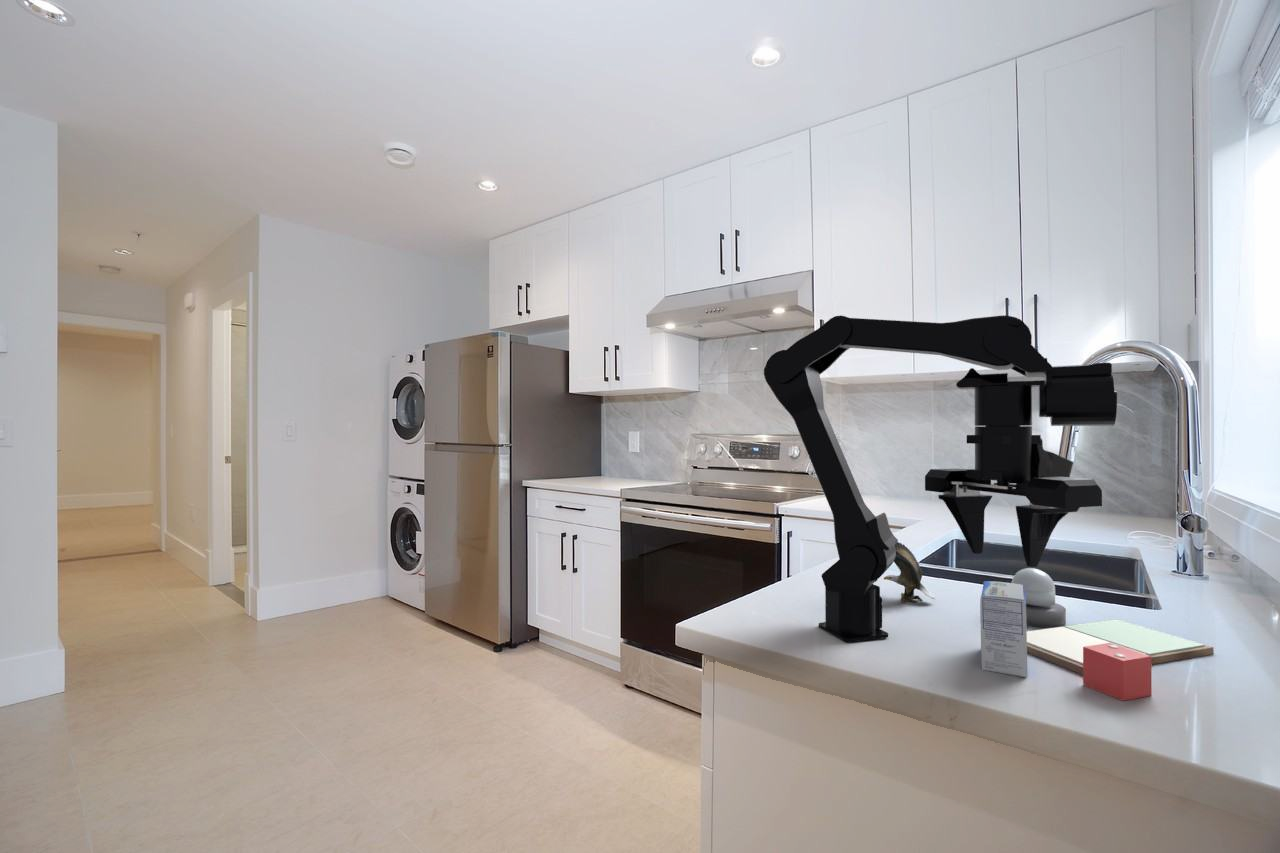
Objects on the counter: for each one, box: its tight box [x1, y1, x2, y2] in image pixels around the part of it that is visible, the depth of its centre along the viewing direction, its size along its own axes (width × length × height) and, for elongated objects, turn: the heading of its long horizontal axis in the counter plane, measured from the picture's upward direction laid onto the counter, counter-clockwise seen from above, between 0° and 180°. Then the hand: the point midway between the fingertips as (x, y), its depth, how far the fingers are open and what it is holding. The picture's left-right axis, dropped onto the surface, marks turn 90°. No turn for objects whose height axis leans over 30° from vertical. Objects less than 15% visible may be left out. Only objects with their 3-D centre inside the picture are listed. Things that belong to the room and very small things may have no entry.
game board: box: [1027, 618, 1215, 675], centre depth 73 cm, size 21×11×1 cm, turn 107°
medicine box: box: [979, 580, 1028, 679], centre depth 69 cm, size 8×4×9 cm, turn 148°
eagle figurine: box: [883, 541, 936, 604], centre depth 93 cm, size 8×7×9 cm
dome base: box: [1026, 602, 1067, 629], centre depth 85 cm, size 8×8×2 cm
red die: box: [1082, 643, 1153, 701], centre depth 62 cm, size 4×4×4 cm
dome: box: [1011, 567, 1056, 606], centre depth 85 cm, size 5×5×5 cm
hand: (1003, 559), depth 69 cm, fingers open, 7 cm apart
